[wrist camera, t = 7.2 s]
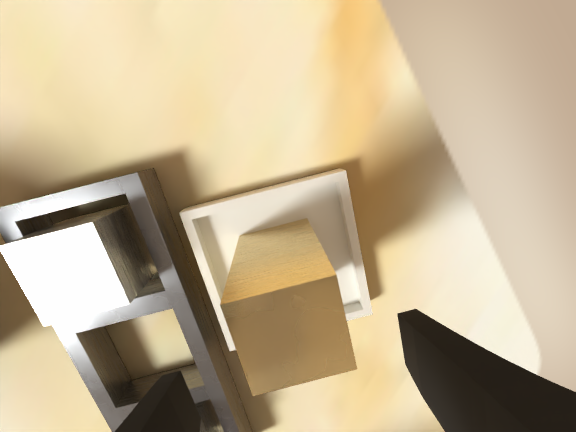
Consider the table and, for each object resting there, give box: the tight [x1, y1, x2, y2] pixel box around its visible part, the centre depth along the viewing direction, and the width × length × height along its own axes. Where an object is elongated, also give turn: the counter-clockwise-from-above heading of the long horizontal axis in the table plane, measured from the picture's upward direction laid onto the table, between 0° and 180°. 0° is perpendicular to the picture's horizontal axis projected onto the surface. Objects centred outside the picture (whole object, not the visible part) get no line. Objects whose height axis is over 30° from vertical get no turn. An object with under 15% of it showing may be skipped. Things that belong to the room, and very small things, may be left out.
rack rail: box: [0, 168, 252, 432], centre depth 16 cm, size 20×7×4 cm, turn 14°
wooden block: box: [220, 218, 357, 396], centre depth 13 cm, size 4×4×7 cm
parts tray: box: [179, 168, 373, 351], centre depth 16 cm, size 9×9×1 cm
